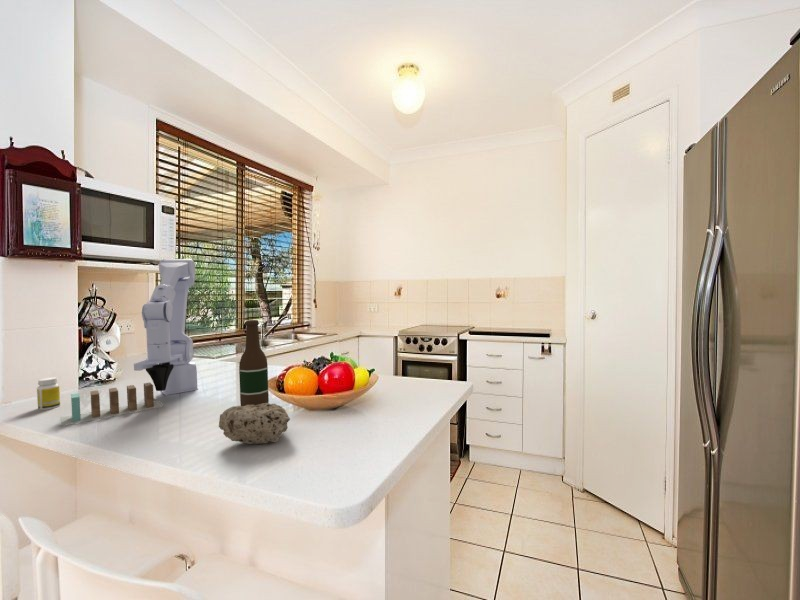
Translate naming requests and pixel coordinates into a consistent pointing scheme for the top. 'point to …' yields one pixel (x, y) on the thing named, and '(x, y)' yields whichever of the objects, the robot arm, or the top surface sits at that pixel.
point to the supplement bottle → (48, 394)
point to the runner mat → (108, 413)
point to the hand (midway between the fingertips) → (160, 390)
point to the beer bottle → (253, 369)
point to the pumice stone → (254, 423)
